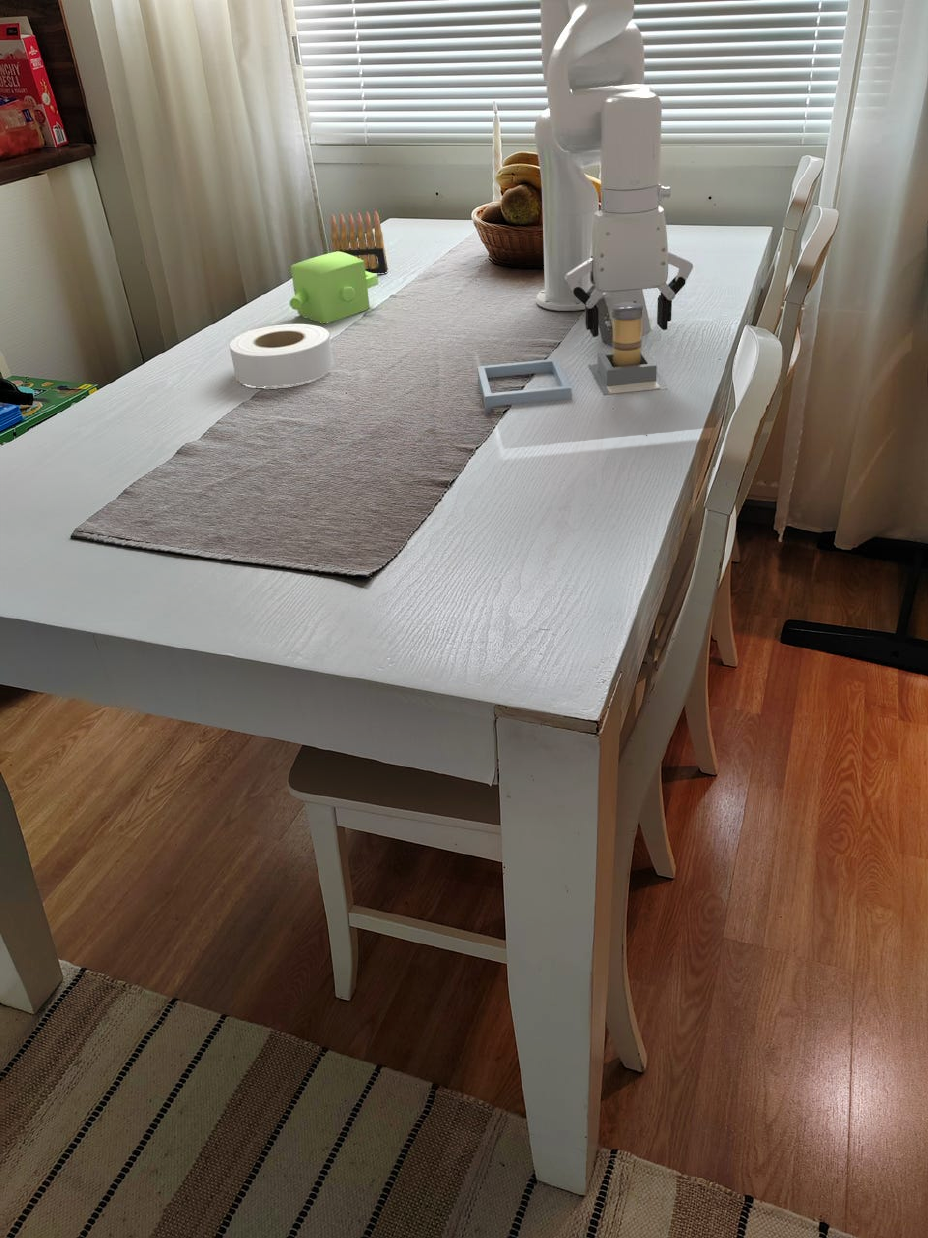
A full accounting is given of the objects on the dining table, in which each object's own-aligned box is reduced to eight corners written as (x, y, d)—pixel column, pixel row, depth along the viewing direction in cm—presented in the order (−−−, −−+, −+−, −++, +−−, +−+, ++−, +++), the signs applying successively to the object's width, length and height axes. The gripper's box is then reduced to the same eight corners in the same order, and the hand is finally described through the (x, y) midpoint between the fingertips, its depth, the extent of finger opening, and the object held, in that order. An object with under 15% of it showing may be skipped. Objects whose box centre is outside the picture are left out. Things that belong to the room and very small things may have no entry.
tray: (478, 382, 147) (477, 366, 146) (558, 374, 147) (557, 358, 146) (486, 413, 137) (484, 396, 136) (571, 404, 137) (571, 387, 136)
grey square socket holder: (587, 371, 147) (587, 348, 145) (647, 365, 148) (648, 342, 146) (603, 401, 137) (603, 377, 135) (667, 395, 138) (668, 370, 136)
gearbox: (307, 336, 173) (299, 282, 167) (277, 322, 179) (268, 270, 174) (388, 307, 182) (383, 255, 176) (357, 296, 188) (350, 245, 182)
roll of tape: (283, 349, 167) (277, 317, 164) (354, 363, 159) (349, 328, 156) (215, 381, 157) (207, 347, 154) (286, 397, 149) (279, 361, 145)
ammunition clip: (388, 271, 202) (381, 209, 195) (386, 273, 201) (379, 211, 194) (337, 274, 203) (328, 212, 197) (335, 276, 202) (326, 215, 195)
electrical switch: (622, 354, 152) (618, 293, 148) (593, 352, 155) (588, 292, 151) (652, 336, 158) (649, 277, 154) (624, 334, 161) (621, 276, 157)
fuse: (608, 372, 144) (609, 303, 138) (637, 369, 144) (639, 300, 138) (614, 382, 140) (615, 312, 134) (644, 380, 140) (646, 309, 135)
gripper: (687, 188, 132) (682, 316, 141) (559, 200, 131) (562, 328, 141) (703, 198, 125) (696, 332, 135) (568, 211, 125) (571, 344, 134)
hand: (628, 330), depth 138 cm, fingers open, 9 cm apart
